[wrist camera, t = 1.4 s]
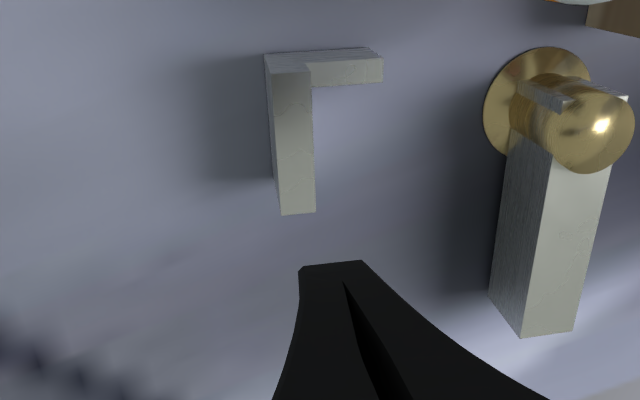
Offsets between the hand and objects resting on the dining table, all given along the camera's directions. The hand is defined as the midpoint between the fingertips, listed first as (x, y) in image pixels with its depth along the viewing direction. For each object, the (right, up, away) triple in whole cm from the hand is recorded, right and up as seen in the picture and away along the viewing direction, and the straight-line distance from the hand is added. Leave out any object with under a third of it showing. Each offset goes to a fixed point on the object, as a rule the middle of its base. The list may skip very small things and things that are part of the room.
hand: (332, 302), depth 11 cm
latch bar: (+9, +2, +11) cm, 15 cm away
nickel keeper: (0, +5, +9) cm, 10 cm away
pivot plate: (+8, +6, +10) cm, 14 cm away
